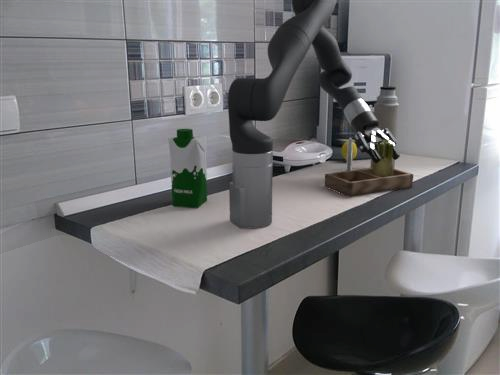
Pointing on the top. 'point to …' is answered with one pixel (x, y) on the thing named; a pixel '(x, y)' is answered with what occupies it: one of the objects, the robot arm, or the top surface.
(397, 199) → the top surface
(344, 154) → the lemon
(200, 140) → the milk carton
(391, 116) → the thermos bottle
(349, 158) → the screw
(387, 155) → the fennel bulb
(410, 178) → the caddy
